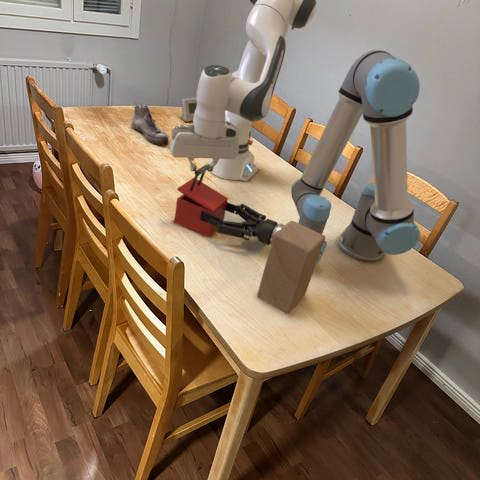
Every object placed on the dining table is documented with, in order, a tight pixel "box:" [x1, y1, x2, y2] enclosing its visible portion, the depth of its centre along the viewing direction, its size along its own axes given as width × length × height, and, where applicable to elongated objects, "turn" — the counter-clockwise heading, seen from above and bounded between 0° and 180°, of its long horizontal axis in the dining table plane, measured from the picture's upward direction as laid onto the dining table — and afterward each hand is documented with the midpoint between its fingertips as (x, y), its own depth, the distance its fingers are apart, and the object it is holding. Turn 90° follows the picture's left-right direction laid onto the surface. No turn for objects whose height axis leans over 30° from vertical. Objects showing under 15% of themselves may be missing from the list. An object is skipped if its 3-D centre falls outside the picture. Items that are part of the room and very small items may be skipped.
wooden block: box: [256, 220, 326, 314], centre depth 113 cm, size 10×10×20 cm
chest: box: [173, 193, 228, 238], centre depth 140 cm, size 13×10×9 cm
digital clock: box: [181, 96, 197, 123], centre depth 223 cm, size 16×9×11 cm, turn 123°
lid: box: [177, 164, 229, 212], centre depth 134 cm, size 13×10×8 cm
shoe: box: [130, 103, 169, 147], centre depth 193 cm, size 25×11×12 cm, turn 30°
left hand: (201, 170), depth 133 cm, fingers closed on lid, 4 cm apart
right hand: (209, 208), depth 138 cm, fingers closed on chest, 10 cm apart
